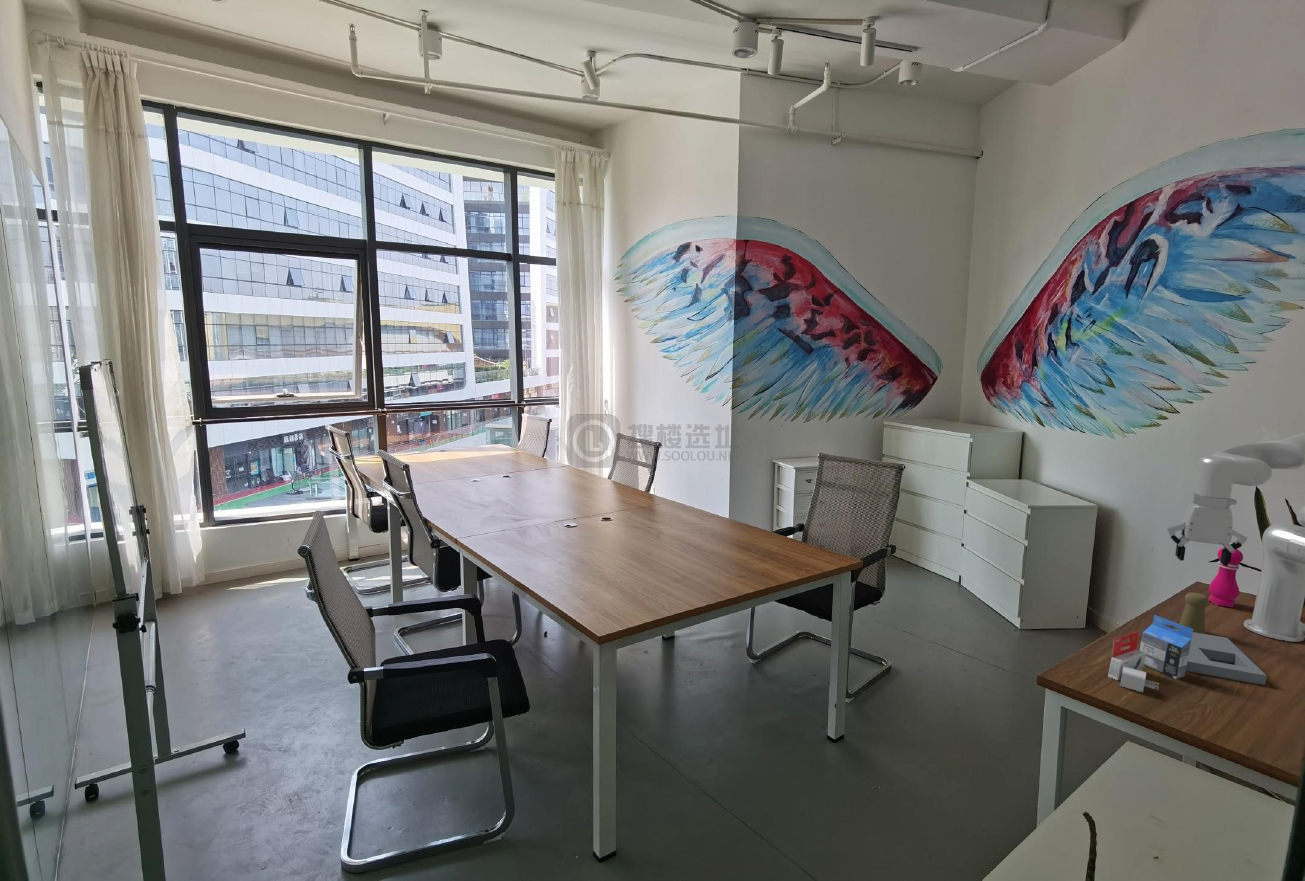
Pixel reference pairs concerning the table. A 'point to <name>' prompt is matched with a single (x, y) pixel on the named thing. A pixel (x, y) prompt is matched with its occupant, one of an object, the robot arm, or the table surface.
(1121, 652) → the ink cartridge box
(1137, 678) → the usb wall charger
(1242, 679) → the socket board
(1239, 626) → the table surface
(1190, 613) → the cork
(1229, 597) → the pepper mill
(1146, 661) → the blue and white box
